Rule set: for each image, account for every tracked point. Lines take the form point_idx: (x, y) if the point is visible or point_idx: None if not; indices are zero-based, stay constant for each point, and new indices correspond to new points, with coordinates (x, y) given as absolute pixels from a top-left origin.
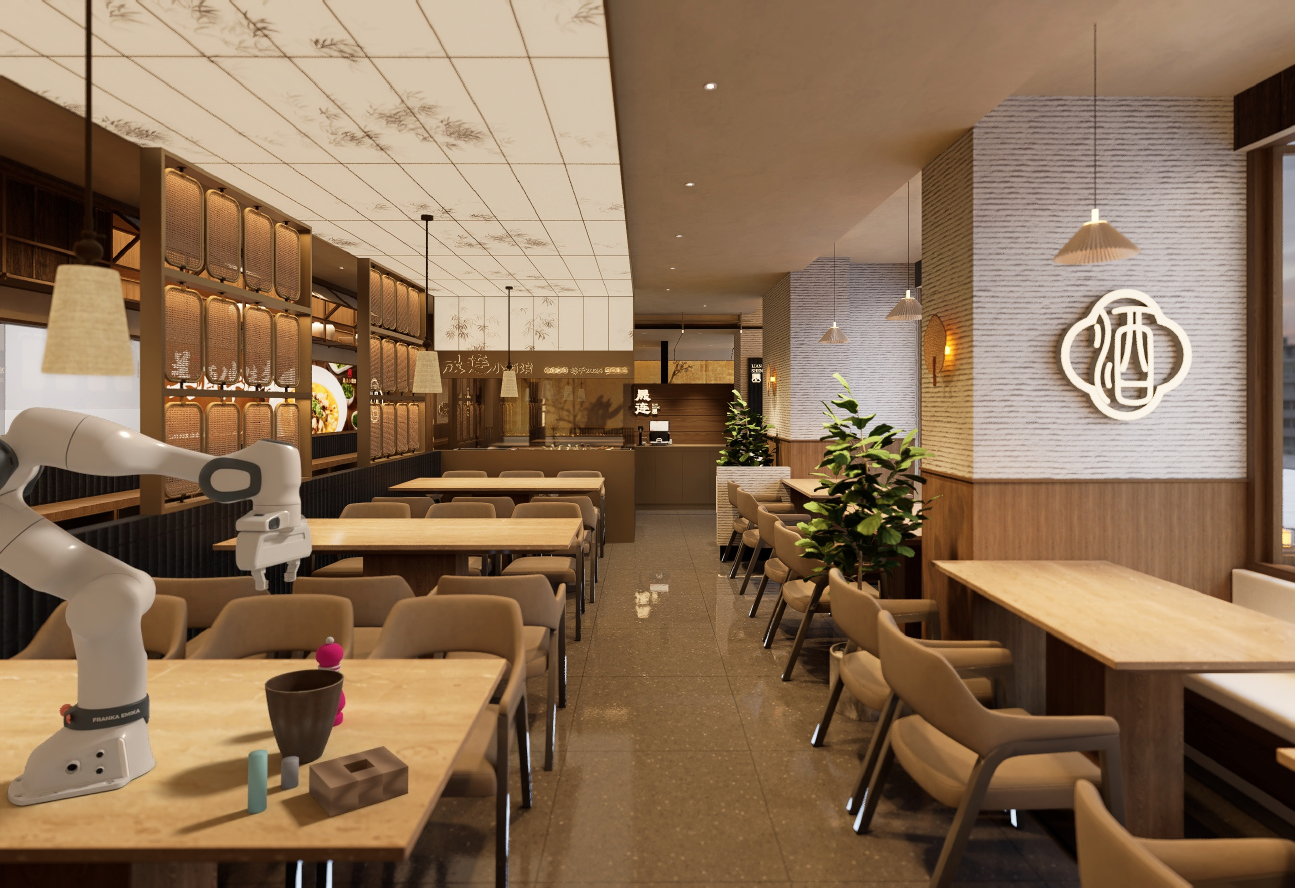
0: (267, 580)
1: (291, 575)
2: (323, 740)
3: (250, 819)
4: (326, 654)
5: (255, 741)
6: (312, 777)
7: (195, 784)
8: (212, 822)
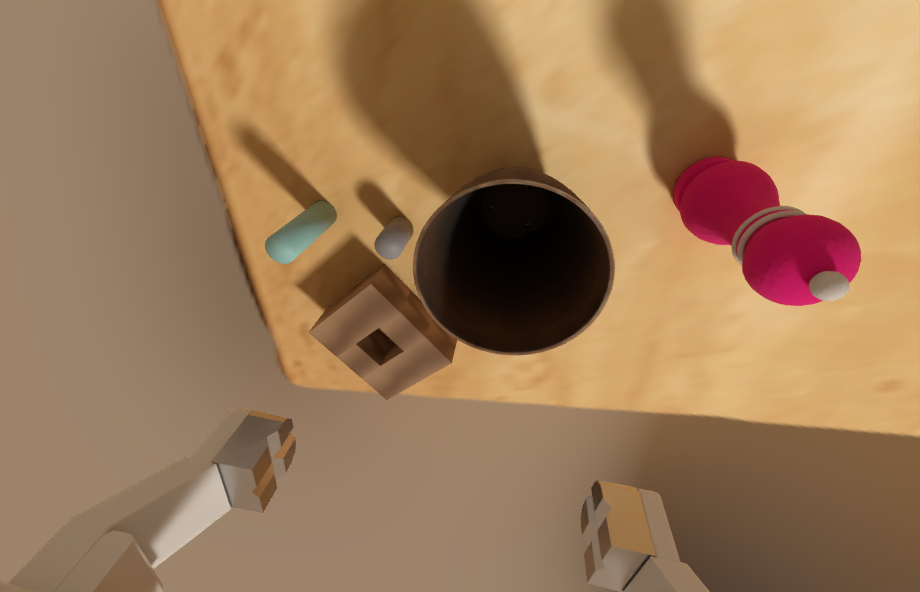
0: (259, 509)
1: (585, 562)
2: (495, 261)
3: None
4: (753, 270)
5: (614, 56)
6: (364, 285)
7: (388, 47)
8: (277, 166)
